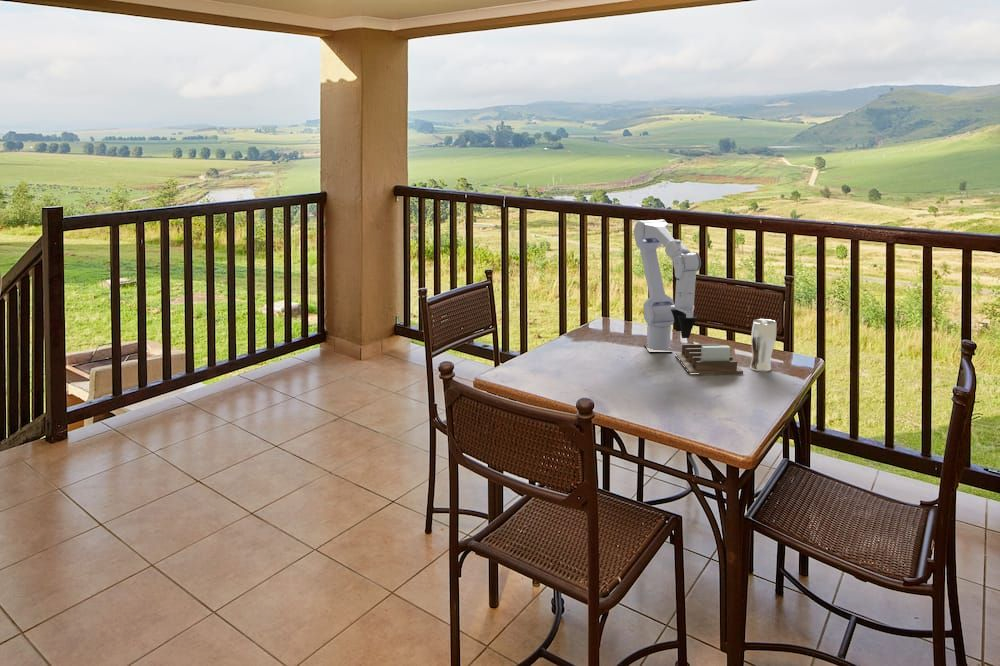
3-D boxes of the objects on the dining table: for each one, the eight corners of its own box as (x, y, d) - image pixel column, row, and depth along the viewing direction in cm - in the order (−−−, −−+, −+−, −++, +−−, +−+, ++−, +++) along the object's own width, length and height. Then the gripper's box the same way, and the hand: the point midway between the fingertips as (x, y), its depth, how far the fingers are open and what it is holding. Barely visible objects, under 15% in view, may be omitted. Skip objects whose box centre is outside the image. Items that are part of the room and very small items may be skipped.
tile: (699, 367, 198) (701, 345, 196) (726, 367, 198) (728, 345, 196) (701, 369, 196) (703, 347, 194) (728, 369, 196) (730, 347, 194)
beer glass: (746, 370, 198) (751, 323, 194) (749, 363, 204) (754, 317, 200) (771, 373, 195) (776, 325, 190) (773, 366, 201) (778, 320, 196)
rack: (675, 355, 212) (676, 344, 211) (724, 355, 212) (725, 343, 211) (689, 374, 195) (690, 362, 194) (742, 374, 195) (744, 361, 194)
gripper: (666, 287, 206) (664, 328, 210) (677, 297, 192) (674, 341, 196) (689, 286, 206) (686, 328, 210) (701, 297, 192) (698, 341, 196)
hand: (682, 334), depth 203 cm, fingers open, 7 cm apart
